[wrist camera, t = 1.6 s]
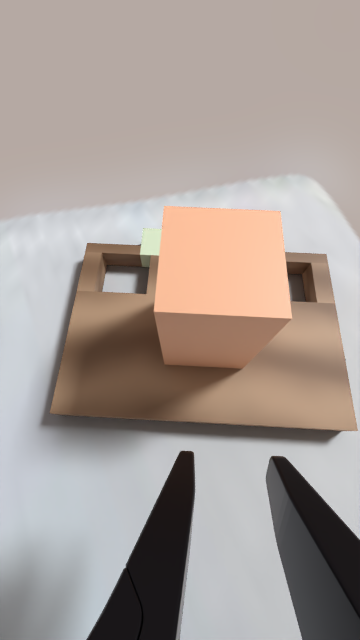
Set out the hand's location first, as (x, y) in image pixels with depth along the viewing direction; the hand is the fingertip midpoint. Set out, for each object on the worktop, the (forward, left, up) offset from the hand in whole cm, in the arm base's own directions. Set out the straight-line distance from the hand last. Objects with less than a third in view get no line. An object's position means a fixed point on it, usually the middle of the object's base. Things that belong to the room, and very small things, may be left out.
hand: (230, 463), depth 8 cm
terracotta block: (+7, +5, -12) cm, 14 cm away
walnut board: (+8, +5, -14) cm, 16 cm away
